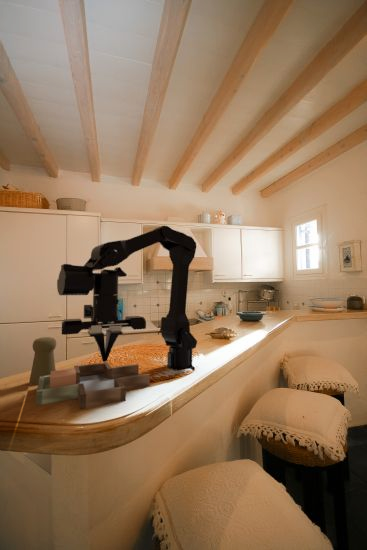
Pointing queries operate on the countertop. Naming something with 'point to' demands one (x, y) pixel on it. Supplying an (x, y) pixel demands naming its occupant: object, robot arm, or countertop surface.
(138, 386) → the trap lane
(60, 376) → the block
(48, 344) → the olive green pepper mill
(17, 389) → the countertop surface
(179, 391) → the countertop surface
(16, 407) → the countertop surface
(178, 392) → the countertop surface
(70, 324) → the robot arm
